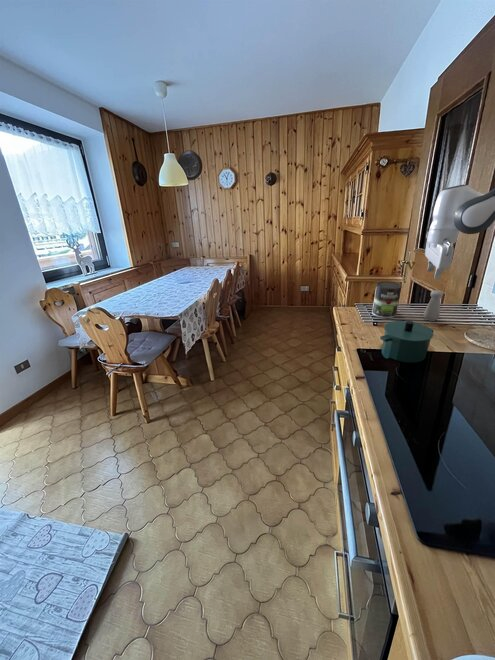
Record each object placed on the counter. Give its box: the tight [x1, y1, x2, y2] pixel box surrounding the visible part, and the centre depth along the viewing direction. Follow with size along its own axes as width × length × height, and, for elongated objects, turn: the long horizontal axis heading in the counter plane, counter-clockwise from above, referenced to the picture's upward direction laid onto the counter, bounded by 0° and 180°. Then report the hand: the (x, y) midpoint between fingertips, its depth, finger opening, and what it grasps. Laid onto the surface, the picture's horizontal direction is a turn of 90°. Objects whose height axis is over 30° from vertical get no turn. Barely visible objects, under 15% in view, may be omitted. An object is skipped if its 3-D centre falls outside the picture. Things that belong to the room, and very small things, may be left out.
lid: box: [383, 320, 434, 342], centre depth 95 cm, size 15×15×4 cm
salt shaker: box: [423, 289, 444, 322], centre depth 120 cm, size 6×6×13 cm
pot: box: [379, 326, 434, 363], centre depth 98 cm, size 14×19×10 cm
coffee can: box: [371, 280, 403, 319], centre depth 128 cm, size 10×10×14 cm
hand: (433, 274), depth 106 cm, fingers open, 8 cm apart
